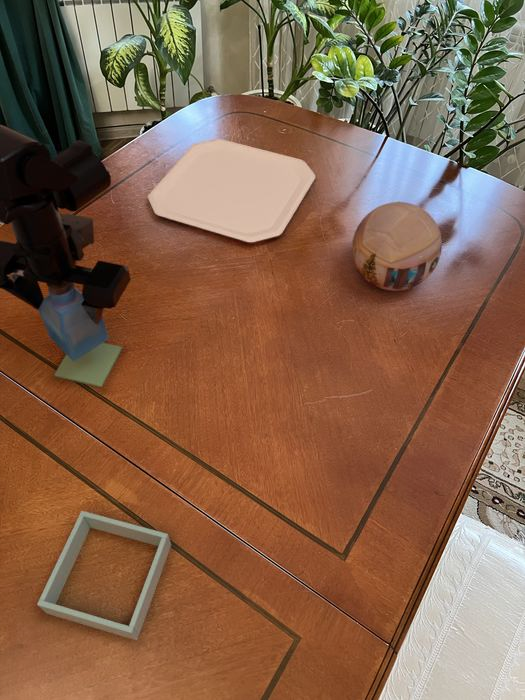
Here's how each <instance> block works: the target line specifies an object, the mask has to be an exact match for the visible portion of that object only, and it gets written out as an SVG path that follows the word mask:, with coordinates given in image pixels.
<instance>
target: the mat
mask: <svg viewBox="0 0 525 700" xmlns="http://www.w3.org/2000/svg"><path fill="white" fill-rule="evenodd" d="M122 351H123V347H122V346H119V345H115V344H111V343H106V342H103V343H102V344H100V345H99V346H97V347H96V348H94V349H92V350H91V351H89V352H88V353H86V354H85V355H83V356H82V357H80V358H79V359H77V360H76V361H73V360H72V359H71V358H70V357H69V356H68V355H67V354H66V353H65V355H64V358H63V359H62V360H61V362H60V364H59V366H58V367H57V369H56V371H55V372H54V374H53V376H54V377H55V378H59V379H63V380H68V381H72V382H76V383H80V384H84V385H88V386H92V387H97V388H101V389H102V388H103V386H104V385H105V383H106V381H107V379H108V377H109V375H110V373H111V372H112V369H113V367H114V365H115V364H116V362H117V360H118V358H119V356H120V354H121V352H122Z"/></svg>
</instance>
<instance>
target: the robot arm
mask: <svg viewBox="0 0 525 700" xmlns="http://www.w3.org/2000/svg"><path fill="white" fill-rule="evenodd" d="M111 183H112V178H111V174H110V171H109V170H107V167H106V166H105V165H104V163H103V161H102V160H101V159H100V157H98V156H97V155H96V153H94V150H93V146H92V145H91V144H89V143H87V142H85V141H82V140H80V139H78V140H76V141H75V142H74V143H71V145H69V147H68V148H66V149H65V150H64V151H62V152H60V153H59V154H57V155H56V156H54V157H53V158H52V157H51V153H50V151H49V150H48V148H47V147H46V145H44V144H43V143H41V142H40V141H38V140H36V139H33V138H32V137H29V136H27V135H25V134H23V133H21V132H18V131H16V130H14V129H12V128H9V127H7V126H6V125H2V124H0V223H2V224H3V225H10V227H11V230H12V233H13V235H14V238H15V239H16V242H12V241H6V240H0V289H1V290H4V291H5V292H7V293H9V294H10V295H12V296H14V297H16V298H18V299H19V300H20V301H22V302H24V303H26V304H27V305H28V306H30V307H31V308H34V309H35V310H37V311H38V310H39V308H40V306H41V304H42V302H43V300H44V298H45V297H44V294H43V292H42V289H41V287H40V284H39V282H40V283H44V284H47V283H48V284H53V285H58V286H60V285H61V283H62V282H63V281H67V282H72V283H74V284H78V285H82V291H81V293H82V296H83V299H84V301H83V302H82V304H81V305H82V306H83V308H84V309H85V311H86V312H87V314H88V315H89V317H90V318H91V320H92V321H93V322H94V323H95V324H99V322H100V320H101V317H102V316H103V312H104V309H108V310H111V309H113V308H115V307H117V304H118V303H119V301H120V300H121V298H122V296H123V294H124V292H125V290H126V288H127V287H128V286H129V283H130V282H131V275H130V270H129V268H128V267H127V265H124V264H118V263H113V262H109V261H105V260H97V262H96V263H95V265H94V266H93V267H92V268H91V267H87V266H82V265H77V264H76V263H77V262H81V261H82V259H84V256H85V253H84V249H85V248H86V247H88V246H89V245H92V244H94V243H95V232H94V231H95V230H94V229H95V228H94V219H93V218H91V217H88V216H87V217H86V216H81V215H77V214H71V213H60V210H59V209H61V210H67V211H69V212H78V211H79V210H80V209H81V208H82V207H85V206H86V205H87V204H88V203H90V202H91V201H93V200H94V199H95V198H97V197H98V196H100V195H101V194H102V193H104V192H105V191H106V190H108V189H109V188H110V186H111V185H112V184H111Z"/></svg>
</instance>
